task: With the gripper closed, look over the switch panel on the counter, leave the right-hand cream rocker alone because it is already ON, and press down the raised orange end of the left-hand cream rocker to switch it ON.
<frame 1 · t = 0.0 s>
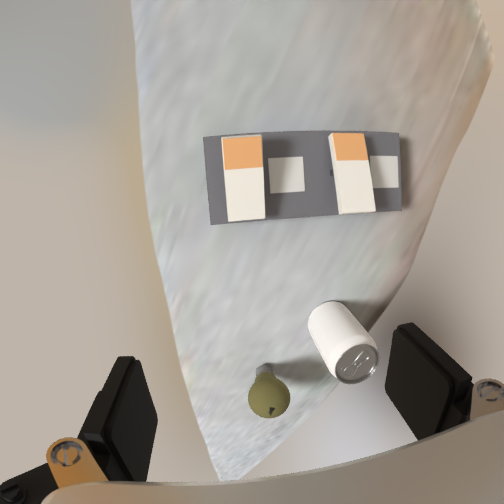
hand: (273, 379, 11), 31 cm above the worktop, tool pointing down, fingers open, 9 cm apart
switch panel: (303, 172, 40), on the worktop
can: (327, 319, 46), on the worktop
rocker 1: (243, 178, 33), point 7 cm above the worktop, hinge at 15.0°
rocker 2: (352, 172, 34), point 7 cm above the worktop, hinge at -15.0°
light bulb: (262, 367, 47), on the worktop
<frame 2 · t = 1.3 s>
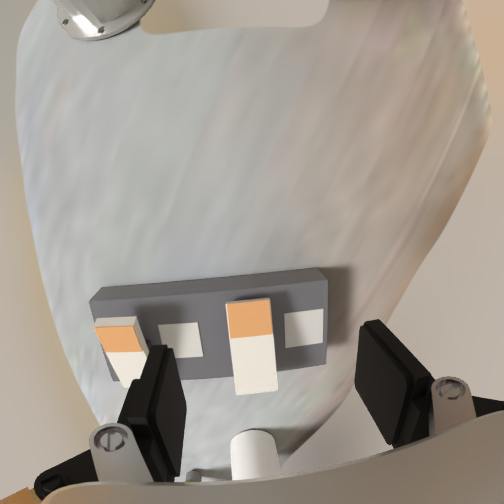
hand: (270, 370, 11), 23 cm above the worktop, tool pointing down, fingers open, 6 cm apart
switch panel: (211, 320, 35), on the worktop
can: (252, 441, 41), on the worktop
rocker 1: (128, 356, 28), point 7 cm above the worktop, hinge at 15.0°
rocker 2: (252, 348, 29), point 7 cm above the worktop, hinge at -15.0°
light bulb: (193, 471, 42), on the worktop
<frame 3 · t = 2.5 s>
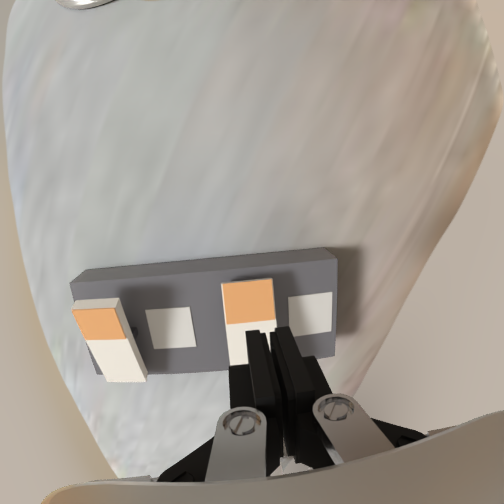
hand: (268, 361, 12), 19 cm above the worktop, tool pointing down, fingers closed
switch panel: (206, 307, 32), on the worktop
rocker 1: (111, 345, 25), point 7 cm above the worktop, hinge at 15.0°
rocker 2: (251, 335, 26), point 7 cm above the worktop, hinge at -15.0°
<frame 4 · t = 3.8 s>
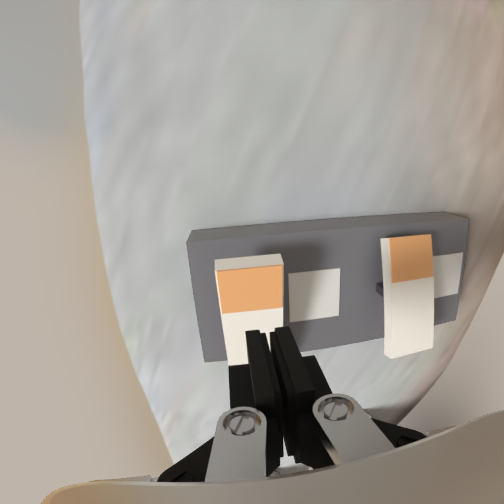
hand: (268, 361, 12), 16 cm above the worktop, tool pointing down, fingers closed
switch panel: (334, 273, 28), on the worktop
rocker 1: (252, 318, 21), point 7 cm above the worktop, hinge at 15.0°
rocker 2: (409, 295, 22), point 7 cm above the worktop, hinge at -15.0°
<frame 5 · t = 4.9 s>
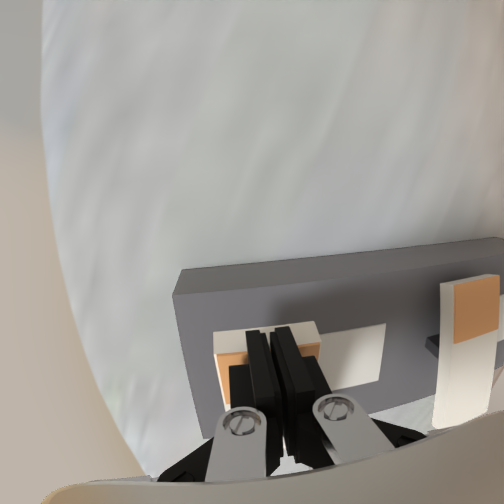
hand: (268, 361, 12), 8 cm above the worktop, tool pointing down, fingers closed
switch panel: (370, 320, 21), on the worktop
rocker 1: (268, 403, 14), point 7 cm above the worktop, hinge at 14.6°, touching gripper
rocker 2: (469, 354, 15), point 7 cm above the worktop, hinge at -15.0°
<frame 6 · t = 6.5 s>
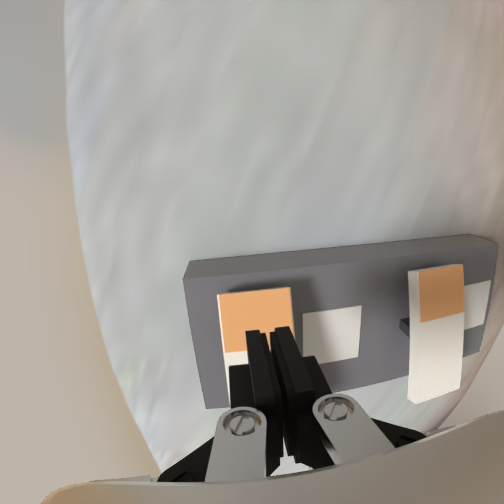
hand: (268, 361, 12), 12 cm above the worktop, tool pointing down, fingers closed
switch panel: (352, 307, 24), on the worktop
rocker 1: (261, 368, 18), point 7 cm above the worktop, hinge at -17.9°
rocker 2: (438, 334, 18), point 7 cm above the worktop, hinge at -15.0°
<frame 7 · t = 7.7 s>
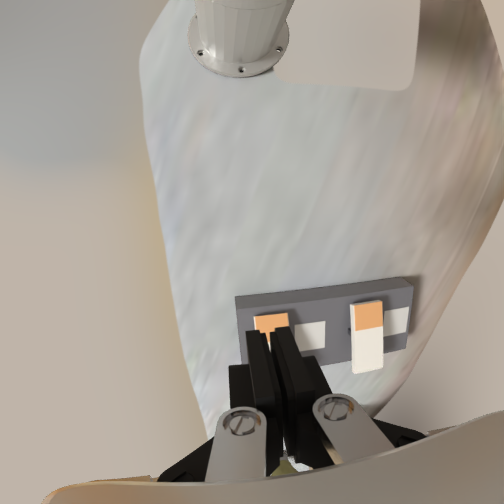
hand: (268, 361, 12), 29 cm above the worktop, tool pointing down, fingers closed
switch panel: (323, 319, 44), on the worktop
rocker 1: (274, 351, 37), point 7 cm above the worktop, hinge at -25.7°
rocker 2: (367, 337, 38), point 7 cm above the worktop, hinge at -15.0°
light bulb: (279, 453, 51), on the worktop
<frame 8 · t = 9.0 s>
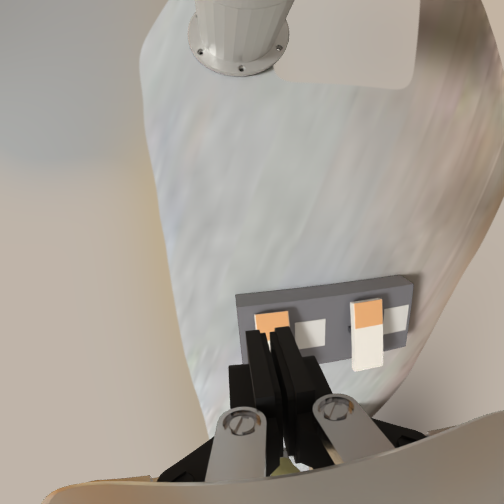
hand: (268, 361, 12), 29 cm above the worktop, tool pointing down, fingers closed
switch panel: (323, 317, 44), on the worktop
rocker 1: (274, 349, 37), point 7 cm above the worktop, hinge at -24.0°
rocker 2: (367, 335, 38), point 7 cm above the worktop, hinge at -15.0°
light bulb: (280, 450, 51), on the worktop
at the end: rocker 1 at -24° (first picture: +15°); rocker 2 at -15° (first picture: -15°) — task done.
